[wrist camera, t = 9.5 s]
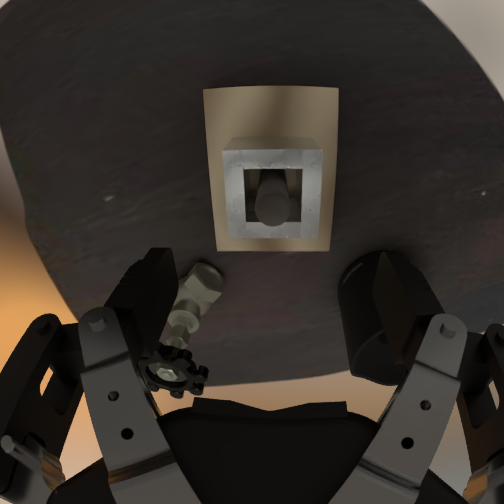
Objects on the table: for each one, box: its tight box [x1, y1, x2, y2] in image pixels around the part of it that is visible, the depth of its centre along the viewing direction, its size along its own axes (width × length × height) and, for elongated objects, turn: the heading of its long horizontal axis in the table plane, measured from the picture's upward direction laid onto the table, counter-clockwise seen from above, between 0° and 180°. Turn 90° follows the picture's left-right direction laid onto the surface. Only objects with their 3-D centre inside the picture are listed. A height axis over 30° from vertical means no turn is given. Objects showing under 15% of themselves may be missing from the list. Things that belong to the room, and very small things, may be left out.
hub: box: [222, 137, 323, 238], centre depth 20 cm, size 6×6×5 cm
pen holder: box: [338, 252, 411, 386], centre depth 25 cm, size 9×9×10 cm
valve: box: [138, 263, 225, 399], centre depth 26 cm, size 7×7×12 cm
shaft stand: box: [203, 86, 338, 251], centre depth 20 cm, size 10×14×10 cm
